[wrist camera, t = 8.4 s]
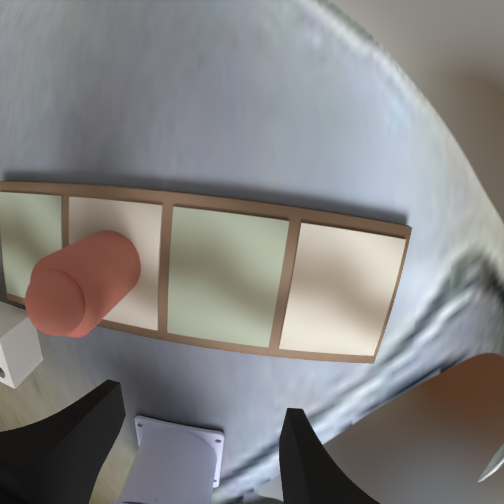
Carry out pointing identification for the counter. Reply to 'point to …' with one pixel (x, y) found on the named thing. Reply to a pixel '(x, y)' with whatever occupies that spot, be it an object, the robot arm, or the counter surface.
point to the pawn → (81, 284)
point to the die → (17, 345)
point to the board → (221, 266)
